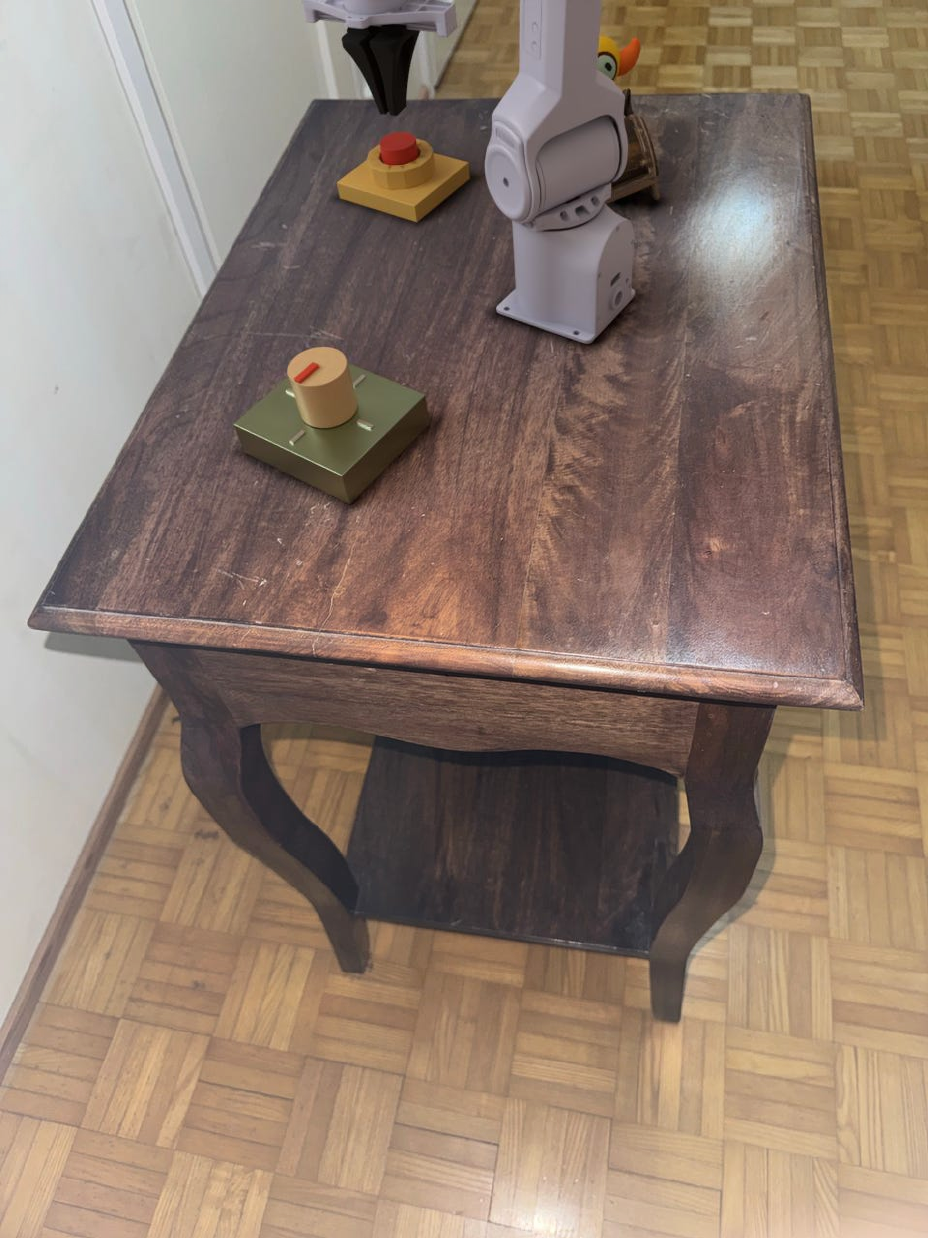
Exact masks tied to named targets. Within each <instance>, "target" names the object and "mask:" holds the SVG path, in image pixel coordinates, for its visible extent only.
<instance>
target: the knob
mask: <svg viewBox="0 0 928 1238" xmlns="http://www.w3.org/2000/svg"><path fill="white" fill-rule="evenodd" d="M348 363H349V362H348V359H347V357H346V355H345V354H344V353H343V352H342V351H340V350H339V349H337V348H334V347H331V346H330V347H329V346H317V347H311V348H309V349H306V350H303V351H301V352H300V353H298V354H296V356H294V357H293V358H292V359H291V360H290V362H289V363H288V366H287V370H286V371H287V377H289V380H290V383H291V386H292V389H293V393H294V396H295V399H296V402H297V405H298V409H299V412H300V415H301V418H302V419H303V421H304V422H305V423H307V424H308V425H310V426H313V427H317V428H331V427H335V426H338V425H341V424H343V423H345V422H346V421H348V420H349V419H350V418H351V417H352V416H353V415H354V414H355V412H356V409H357V399H356V395H355V391H354V387H353V383H352V379H351V375H350V370H349V366H348Z"/></svg>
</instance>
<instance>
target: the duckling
mask: <svg viewBox="0 0 928 1238" xmlns="http://www.w3.org/2000/svg"><path fill="white" fill-rule="evenodd" d="M641 50H642V47H641V41H640V40H639V38H638V37H633V38H632V40H631V41H630V43H629V44H628V45H626V47H624V48H623V49H621V50H620V49H619V46H618V45H617V43H616V42H615V41H614V40H613V39H612V38H610V37H608V36H605V35H602V34H600V35H599V48H598V61H597V70H598V71H600V72H602V73H603V74H605V75H606V76H607V77H609V78H610V79H611V80H612V81H613V82H614V83H616V80H617V79H618V77H621V76H622V77H623V76H624V75H627V74H628V73H629V72H630V71H631V70H633V68H634V67H635V66H636V64H637V63H638V59H639V57H640V53H641Z"/></svg>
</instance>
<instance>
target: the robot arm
mask: <svg viewBox="0 0 928 1238" xmlns="http://www.w3.org/2000/svg"><path fill="white" fill-rule="evenodd" d="M301 5H302V8H303V14H304V19H305V22H306V23H309V24H310V23H312V24H317V22H319V21H327V22H335V23H342V24H343V23H345V24H346V27H347V28H346V33H345V34H343V36H342V37H341V45H342V49H344V51H345V52H346V53H347V54H348V56H349V57H350V58H351V60H353V62H354V63H355V65H356V66H357V68H358V69H359V71H360V73H361V75H362V77H363V78H364V80H365V82H366V84H367V86H368V89H369V91H370V93H371V95H372V98H373V100H374V103H375V105H376V107H377V111H378V112H379V114H380V115H384V116H385V115H387V114H388V113H389V116H392V117H397V116H399V115H400V114H401V113H402V112H403V111H404V110H405V109H406V108H407V98H408V97H407V95H408V83H409V76H410V69H411V64H412V59H413V56H414V52H415V48H416V44H417V41H418V39H419V36H420V33H421V32H429V33H436V35H437V36H438V37H441V38H448V37H450V35H452V34H453V33H454V32H455V31H456V30H457V29H458V17H457V6H456V3H455V2H449V1H444V0H301ZM602 7H603V0H519V58H518V59H519V61H518V62H519V63H518V64H519V65H518V66H519V70H518V71H519V72H518V74H517V76H516V78H515V79H514V80H513V82H512V84H511V85H510V86H509V88H508V89H507V91H506V92H505V94H503V96H502V97H501V99H500V101H499V102H498V103H497V105H496V107H495V108H494V109H493V112H492V114H491V135H490V139H489V142H488V145H487V148H486V153H485V158H484V159H485V160H484V174H485V180H486V183H487V187H488V191H489V193H490V196H491V197H492V200H493V201H494V203H495V205H496V206H497V208H498V209H499V210H500V212H501V213H502V214H503V215H505V216H506V217H507V218H508V219H510V221H511V223H512V240H513V241H512V242H513V243H512V245H513V258H514V259H513V261H514V262H513V263H514V274H515V275H514V276H515V277H514V279H515V288H514V289H513V290H512V291H511V292H510V293H509V294H508V295H507V296H506V297H505V298H504V299H503V300H502V301H501V302H499V303H498V304H497V306H496V313H497V314H499V315H502V316H505V317H507V318H510V319H512V320H515V321H519V322H521V323H524V324H527V325H530V326H533V327H536V328H539V329H541V330H544V331H547V332H550V333H552V334H555V335H559V336H561V337H564V338H568V339H571V340H573V341H575V342H578V343H582V344H585V345H589V344H592V343H593V342H594V341H595V339H597V338H598V337H599V335H601V333H602V332H603V331H604V330H605V329H606V328H607V327H608V325H610V323H611V322H612V321H613V320H614V319H615V318H617V316H618V315H619V314H620V313H621V312H622V310H623V309H624V308H625V307H626V306H627V305H628V304H629V303H630V302H631V301H632V300H633V298H635V296H636V289H634V288H632V287H633V273H634V272H633V270H634V254H635V239H636V238H635V237H636V236H635V228H634V225H633V223H632V221H631V220H629V219H627V218H626V217H623V216H621V215H620V214H618V213H617V212H615V211H613V209H612V208H610V207H609V206H608V204H605V201H606V200H607V199H609V198H610V197H611V182H614V181H616V180H617V179H618V178H619V177H620V176H621V175H622V174H623V172H624V170H625V167H626V163H627V157H628V139H627V133H626V130H625V125H624V118H625V115H624V104H625V96H624V94H623V93H622V91H623V90H621V89H620V87H619V86H618V85H617V83H616V82H613V81H612V80H611V79H610V78H609V77H607V76H606V75H605V74H603V73H602V72H600V71H598V70H597V61H598V48H599V35H601V34H600V32H601V21H602V10H603V9H602Z"/></svg>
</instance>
